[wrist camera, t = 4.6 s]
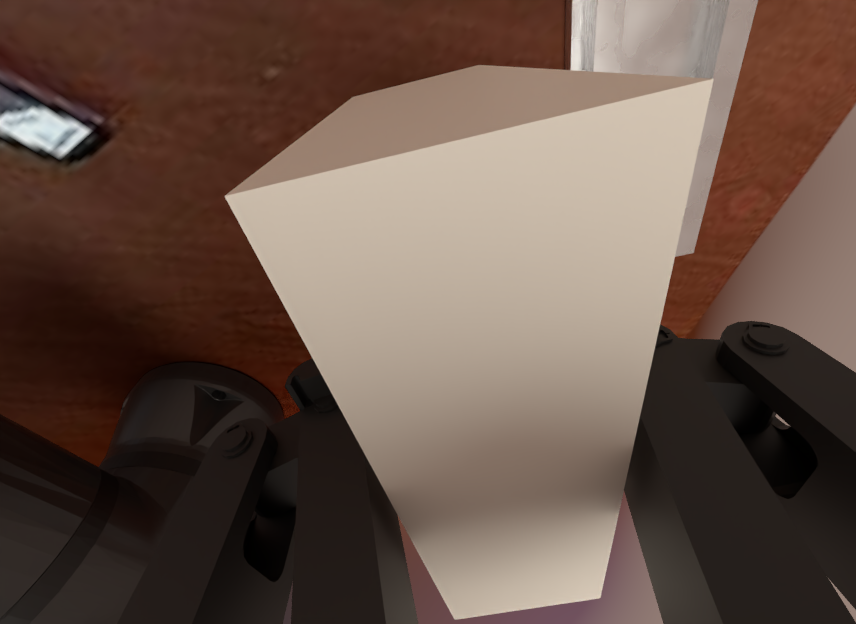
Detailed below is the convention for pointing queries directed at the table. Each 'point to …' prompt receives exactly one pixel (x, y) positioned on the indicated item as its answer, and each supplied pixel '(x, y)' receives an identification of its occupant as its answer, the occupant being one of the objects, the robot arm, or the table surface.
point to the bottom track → (668, 63)
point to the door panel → (488, 303)
